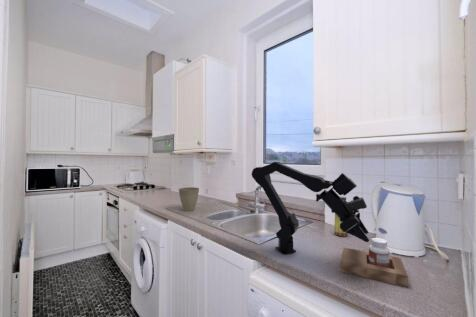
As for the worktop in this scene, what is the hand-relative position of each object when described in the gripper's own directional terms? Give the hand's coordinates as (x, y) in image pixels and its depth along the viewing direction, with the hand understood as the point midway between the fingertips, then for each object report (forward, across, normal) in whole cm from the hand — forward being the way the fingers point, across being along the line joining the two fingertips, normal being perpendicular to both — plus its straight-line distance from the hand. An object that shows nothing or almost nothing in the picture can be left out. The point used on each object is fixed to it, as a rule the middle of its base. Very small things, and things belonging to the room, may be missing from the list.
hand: (367, 237), depth 80 cm
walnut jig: (+9, 0, +7) cm, 12 cm away
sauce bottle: (+1, +33, +16) cm, 37 cm away
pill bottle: (+11, 0, +6) cm, 12 cm away
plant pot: (-72, +32, +90) cm, 119 cm away
